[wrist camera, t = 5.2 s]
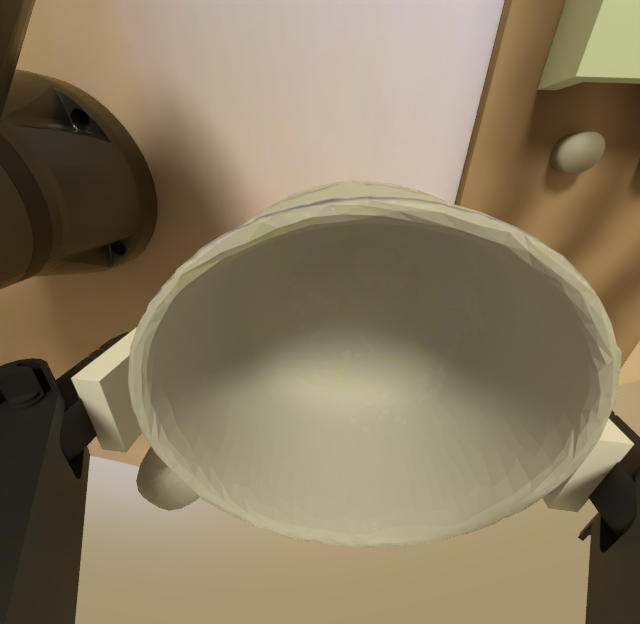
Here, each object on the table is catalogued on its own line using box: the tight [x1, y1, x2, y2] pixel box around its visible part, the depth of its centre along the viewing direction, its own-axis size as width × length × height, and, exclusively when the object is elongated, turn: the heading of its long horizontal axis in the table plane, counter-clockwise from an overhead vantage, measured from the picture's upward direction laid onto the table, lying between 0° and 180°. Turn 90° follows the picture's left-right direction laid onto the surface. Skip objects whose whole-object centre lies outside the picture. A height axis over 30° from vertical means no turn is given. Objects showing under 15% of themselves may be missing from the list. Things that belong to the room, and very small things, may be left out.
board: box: [455, 0, 640, 369], centre depth 22 cm, size 19×28×3 cm
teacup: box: [128, 181, 622, 547], centre depth 11 cm, size 14×11×8 cm
